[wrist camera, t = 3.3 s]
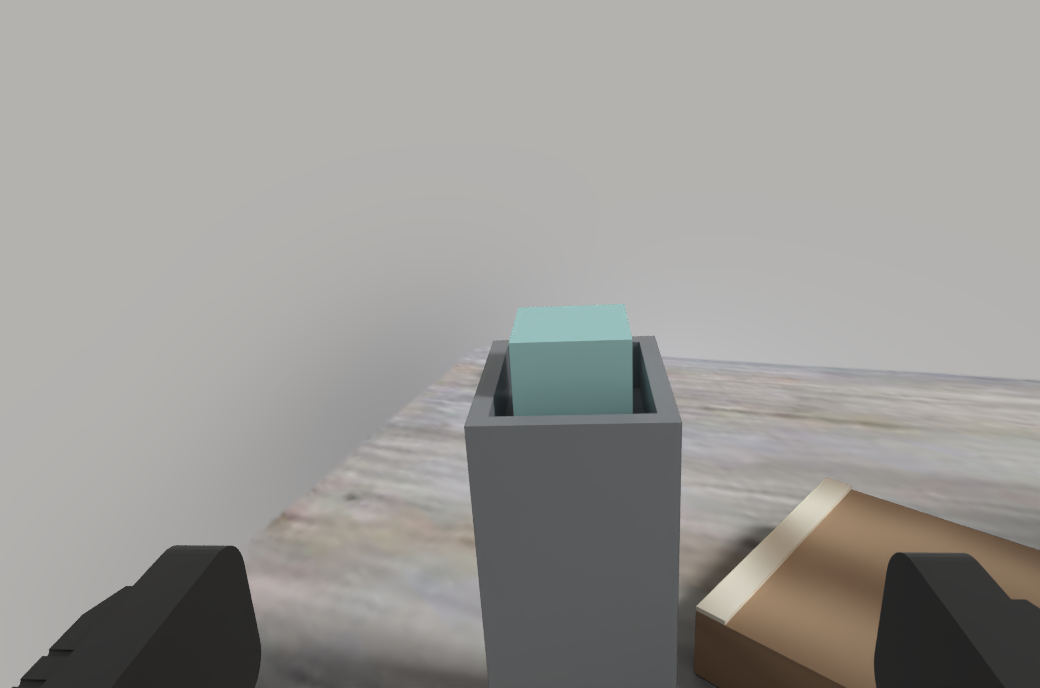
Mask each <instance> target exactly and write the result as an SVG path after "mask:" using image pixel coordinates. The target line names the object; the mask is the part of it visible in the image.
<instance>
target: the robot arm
mask: <svg viewBox="0 0 1040 688" xmlns="http://www.w3.org/2000/svg"><path fill="white" fill-rule="evenodd" d="M260 661H261V644H260V638H259V633H258V628H257V623H256V618H255V613H254V608H253V604H252V599H251V594H250V589H249V584H248V579H247V574H246V570H245V565H244V561H243V557H242V555H241V553H240V551H239V550H238V549H237V548H236V547H234V546H187V545H184V546H182V545H181V546H179V545H177V546H172V547H170V548H169V549H167V550H166V551H165V552H164V553H163V554H162V555H161V556H160V557H159V558H158V560H157V561H156V562H155V563H154V564H153V565H152V566H151V567H150V568H149V569H148V570H147V571H146V573H145V574H144V575H143V576H142V577H141V578H140V579H139V580H138V581H137V582H136V583H135V584H134V585H133V586H126V587H124V588H123V589H121V590H119V591H118V592H117V593H115V594H113V595H112V596H110V597H109V598H107V599H106V600H104V601H103V602H101V603H100V604H98V605H97V606H95V607H94V608H92V609H91V610H89V611H88V612H86V613H84V614H83V615H82V616H81V617H80V618H79V619H78V620H77V621H76V622H75V623H74V624H73V625H72V626H71V627H70V628H69V629H68V630H67V631H66V632H65V633H64V634H63V636H61V638H60V639H59V640H58V641H57V642H56V643H55V644H54V645H53V646H52V647H51V648H50V649H49V654H48V656H42V657H41V658H40V659H39V660H38V661H37V662H36V663H35V664H34V666H32V668H31V669H30V670H29V671H28V672H27V673H26V674H25V675H24V676H23V677H22V678H21V682H20V685H19V686H18V687H12V688H255V685H256V682H257V678H258V674H259V668H260ZM874 675H875V682H876V688H1040V608H1038V607H1037V606H1035V605H1034V604H1032V603H1031V602H1029V601H1028V600H1026V599H1010V597H1009V596H1008V595H1007V594H1006V593H1005V592H1004V591H1003V589H1002V588H1001V587H1000V586H999V585H998V584H997V583H996V581H995V580H994V579H993V578H992V577H991V576H990V575H989V574H988V572H987V571H986V570H985V569H984V568H983V567H982V566H981V564H980V563H979V562H978V561H977V560H976V559H975V558H974V557H972V556H971V555H969V554H967V553H926V552H897V553H895V554H894V555H893V556H892V557H891V558H890V560H889V563H888V567H887V572H886V579H885V585H884V592H883V599H882V606H881V612H880V619H879V626H878V633H877V639H876V646H875V653H874Z"/></svg>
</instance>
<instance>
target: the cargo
mask: <svg viewBox="0 0 1040 688" xmlns="http://www.w3.org/2000/svg"><path fill="white" fill-rule="evenodd" d="M509 355H510V369H511V384H512V399H513V413H514V416H549V415H600V414H633V369H632V336H631V331H630V327H629V323H628V318H627V313H626V309H625V305H624V304H613V305H586V306H585V305H584V306H558V307H556V306H555V307H526V308H518V311H517V315H516V319H515V322H514V327H513V329H512V333H511V337H510V340H509Z"/></svg>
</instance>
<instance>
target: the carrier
mask: <svg viewBox="0 0 1040 688" xmlns="http://www.w3.org/2000/svg"><path fill="white" fill-rule="evenodd" d="M632 369H633V414H600V415H549V416H514V413H513V399H512V384H511V369H510V355H509V340H505V341H504V340H503V341H493V344H492V346H491V349H490V352H489V355H488V358H487V361H486V364H485V367H484V370H483V373H482V376H481V379H480V382H479V385H478V387H477V390H476V393H475V396H474V399H473V402H472V405H471V408H470V411H469V414H468V417H467V420H466V423H465V426H464V429H465V440H466V450H467V461H468V471H469V482H470V493H471V503H472V514H473V524H474V535H475V545H476V556H477V566H478V577H479V587H480V598H481V608H482V619H483V629H484V640H485V650H486V661H487V671H488V682H489V688H676V687H677V639H678V591H679V543H680V496H681V448H682V421H681V418H680V414H679V411H678V408H677V405H676V402H675V399H674V396H673V392H672V389H671V386H670V383H669V380H668V377H667V374H666V370H665V367H664V364H663V361H662V358H661V355H660V352H659V349H658V345H657V342H656V339H655V336H638V337H632Z"/></svg>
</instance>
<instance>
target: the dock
mask: <svg viewBox="0 0 1040 688" xmlns="http://www.w3.org/2000/svg"><path fill="white" fill-rule="evenodd" d="M851 487H852V486H851V485H848V484H845V483H842V482H839V481H836V480H832V479H829V478H825V479H824V480H823V481H822V482H821V483H820V484H819V485H818V486H817V487H816V488H815V489H814V490H813V491H812V492H811V493H810V494H809V495H808V496H807V497H806V498H805V499H804V500H803V501H802V502H801V503H800V504H799V505H798V506H797V507H796V508H795V509H794V510H793V511H792V512H791V513H790V514H789V515H788V516H787V517H786V518H785V519H784V520H783V521H782V522H781V523H780V524H779V525H778V526H777V527H776V528H775V529H774V530H773V531H772V532H771V533H770V534H769V535H768V536H767V537H766V538H765V539H764V540H763V541H762V542H761V543H760V544H759V545H758V546H757V547H756V548H755V549H754V550H753V551H752V552H751V553H750V554H748V555H747V556H746V557H745V558H744V559H743V560H742V561H741V562H740V563H739V564H738V565H737V566H736V567H735V568H734V569H733V570H732V571H731V572H730V573H729V574H728V575H727V576H726V577H725V578H724V579H723V580H722V581H721V582H720V583H719V584H718V585H717V586H716V587H715V588H714V589H713V590H712V591H711V592H710V593H709V594H708V595H707V596H706V597H705V598H704V599H703V600H702V601H701V602H700V603H699V604H698V605H697V606H696V627H695V658H694V673H695V674H697V675H699V676H701V677H702V678H704V679H706V680H707V681H709V682H711V683H713V684H714V685H716V686H718V687H719V688H876V682H875V675H874V653H875V646H876V639H877V633H878V626H879V619H880V612H881V606H882V599H883V592H884V585H885V579H886V572H887V567H888V563H889V560H890V558H891V557H892V556H893V555H894V554H895V553H897V552H926V553H967V554H969V555H971V556H972V557H974V558H975V559H976V560H977V561H978V562H979V563H980V564H981V566H982V567H983V568H984V569H985V570H986V571H987V572H988V574H989V575H990V576H991V577H992V578H993V579H994V580H995V581H996V583H997V584H998V585H999V586H1000V587H1001V588H1002V589H1003V591H1004V592H1005V593H1006V594H1007V595H1008V596H1009V597H1010V599H1026V600H1028V601H1029V602H1031V603H1032V604H1034V605H1035V606H1037V607H1038V608H1040V551H1039V550H1036V549H1033V548H1030V547H1027V546H1024V545H1021V544H1018V543H1015V542H1012V541H1009V540H1006V539H1003V538H999V537H996V536H993V535H990V534H987V533H984V532H981V531H978V530H975V529H972V528H969V527H966V526H963V525H959V524H956V523H953V522H950V521H947V520H944V519H941V518H938V517H935V516H932V515H929V514H926V513H923V512H919V511H916V510H913V509H910V508H907V507H904V506H901V505H898V504H895V503H892V502H889V501H886V500H883V499H879V498H876V497H873V496H870V495H867V494H864V493H861V492H858V491H855V490H852V489H851Z"/></svg>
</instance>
